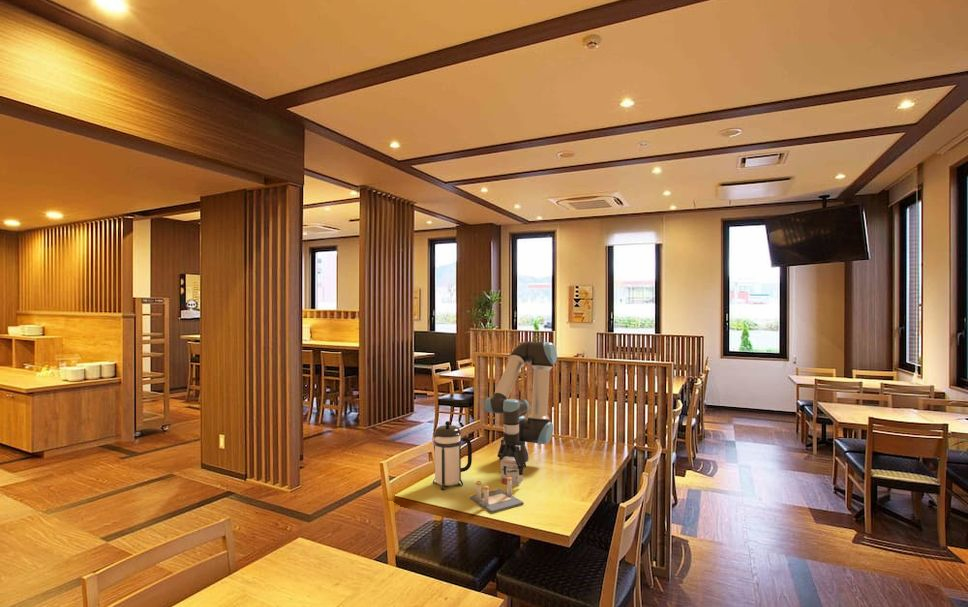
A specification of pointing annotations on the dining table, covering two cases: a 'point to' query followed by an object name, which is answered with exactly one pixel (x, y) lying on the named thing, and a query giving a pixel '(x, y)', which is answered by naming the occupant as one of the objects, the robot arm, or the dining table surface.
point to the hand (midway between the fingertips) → (511, 477)
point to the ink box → (509, 470)
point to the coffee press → (449, 455)
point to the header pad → (496, 498)
